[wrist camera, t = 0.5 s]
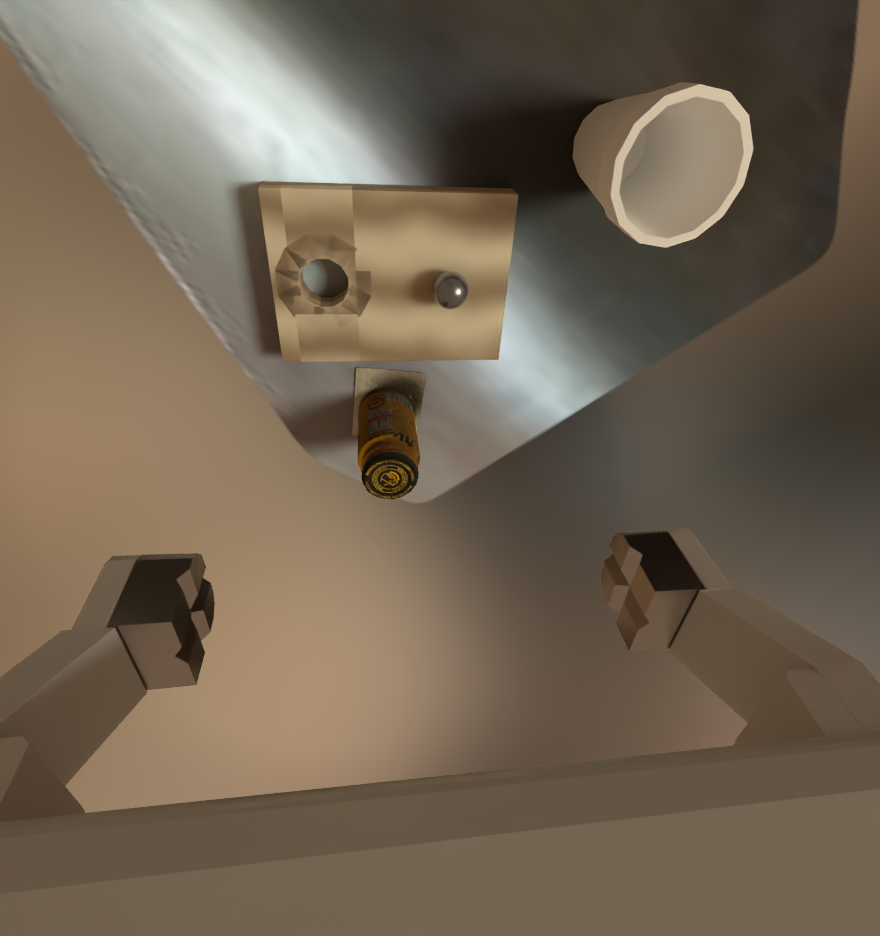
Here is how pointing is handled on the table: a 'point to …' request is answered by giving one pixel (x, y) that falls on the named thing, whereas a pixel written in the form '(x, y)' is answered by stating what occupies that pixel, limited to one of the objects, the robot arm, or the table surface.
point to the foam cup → (665, 160)
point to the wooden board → (388, 269)
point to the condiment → (388, 429)
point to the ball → (450, 290)
